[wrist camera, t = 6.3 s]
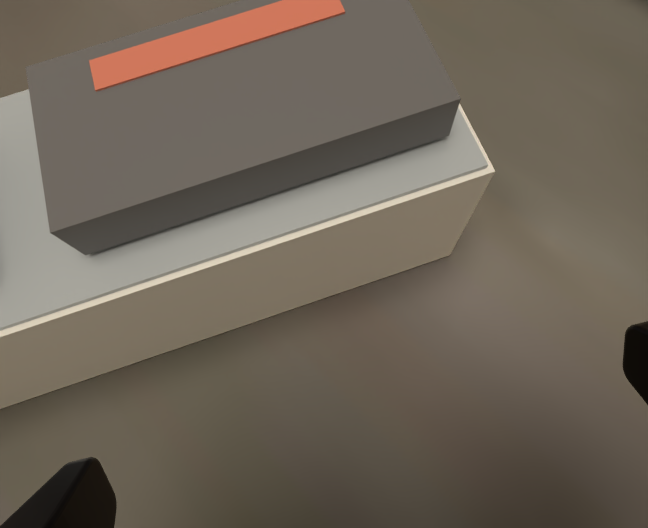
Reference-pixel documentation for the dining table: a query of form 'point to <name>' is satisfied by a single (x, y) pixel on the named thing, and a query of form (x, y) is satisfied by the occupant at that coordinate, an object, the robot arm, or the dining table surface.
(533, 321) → the dining table surface
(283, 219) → the switch block
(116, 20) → the dining table surface
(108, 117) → the key
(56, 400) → the dining table surface
